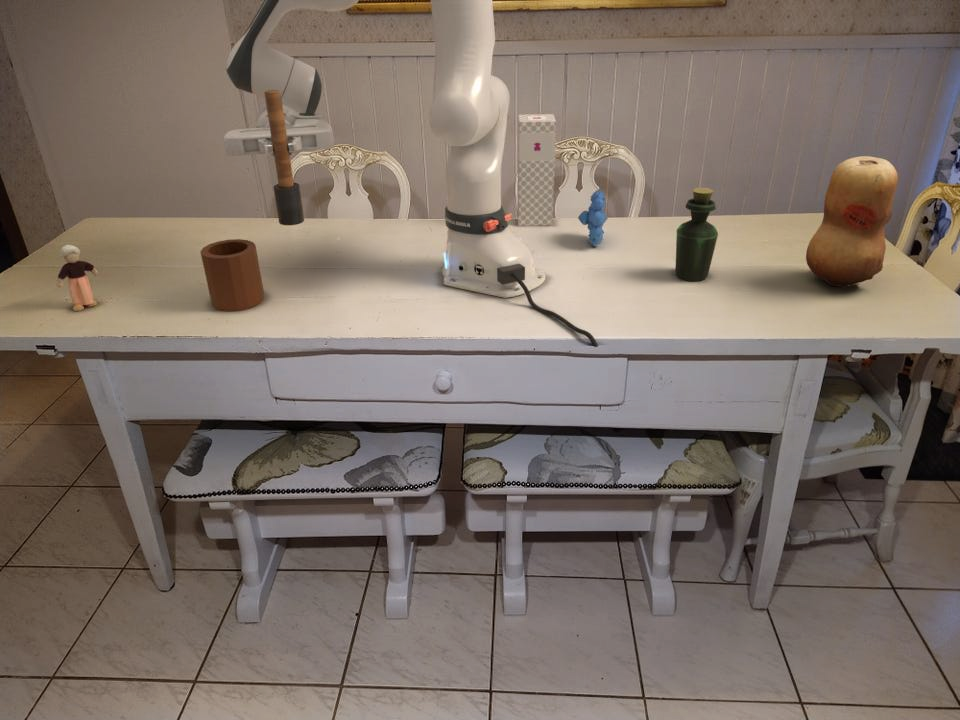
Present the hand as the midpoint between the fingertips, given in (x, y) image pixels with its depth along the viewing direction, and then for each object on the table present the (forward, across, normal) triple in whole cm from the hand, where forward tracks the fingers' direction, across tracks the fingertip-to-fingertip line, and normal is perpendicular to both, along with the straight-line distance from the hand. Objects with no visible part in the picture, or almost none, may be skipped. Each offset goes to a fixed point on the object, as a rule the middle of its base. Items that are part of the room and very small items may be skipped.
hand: (281, 149), depth 133 cm
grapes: (-9, +67, +29) cm, 73 cm away
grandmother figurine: (-7, -42, +29) cm, 51 cm away
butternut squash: (+28, +105, +29) cm, 112 cm away
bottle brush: (-1, 0, +14) cm, 14 cm away
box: (-29, +59, +29) cm, 72 cm away
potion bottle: (+15, +79, +29) cm, 85 cm away
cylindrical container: (0, -12, +29) cm, 31 cm away
